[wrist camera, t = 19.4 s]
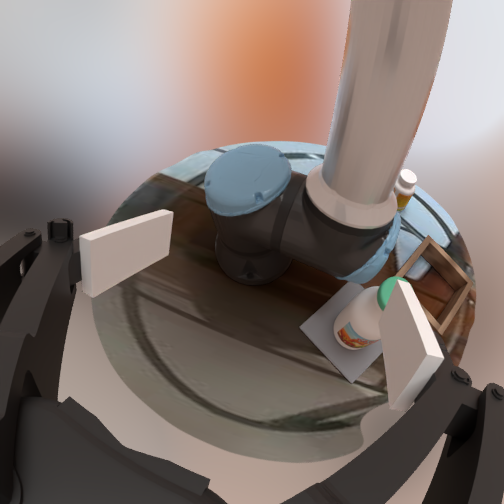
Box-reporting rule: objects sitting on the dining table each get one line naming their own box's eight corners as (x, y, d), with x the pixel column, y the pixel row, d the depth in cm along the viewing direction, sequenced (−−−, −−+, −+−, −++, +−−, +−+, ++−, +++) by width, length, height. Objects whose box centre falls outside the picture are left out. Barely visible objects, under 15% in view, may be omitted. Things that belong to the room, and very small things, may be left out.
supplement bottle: (408, 205, 58) (424, 179, 50) (396, 216, 57) (412, 189, 48) (392, 190, 60) (405, 162, 52) (379, 200, 59) (392, 172, 51)
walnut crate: (381, 289, 50) (391, 280, 46) (418, 246, 53) (428, 234, 49) (428, 340, 44) (441, 335, 40) (460, 291, 48) (473, 283, 43)
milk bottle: (324, 321, 48) (355, 281, 30) (359, 301, 49) (403, 252, 31) (345, 358, 44) (390, 339, 27) (380, 336, 46) (436, 304, 28)
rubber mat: (298, 327, 48) (299, 326, 48) (352, 278, 52) (352, 277, 51) (350, 383, 43) (351, 383, 42) (401, 329, 46) (402, 328, 46)
